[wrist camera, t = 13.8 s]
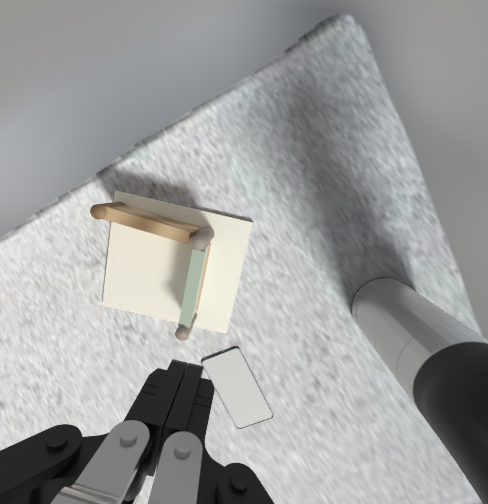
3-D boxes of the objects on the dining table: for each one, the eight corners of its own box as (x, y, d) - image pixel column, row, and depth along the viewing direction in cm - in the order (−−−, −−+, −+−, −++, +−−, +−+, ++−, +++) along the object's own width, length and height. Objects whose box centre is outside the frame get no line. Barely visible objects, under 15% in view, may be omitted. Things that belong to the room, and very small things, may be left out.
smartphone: (238, 345, 45) (274, 417, 48) (238, 343, 45) (274, 414, 48) (199, 360, 46) (237, 429, 49) (200, 358, 46) (237, 427, 49)
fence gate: (199, 225, 40) (190, 232, 34) (196, 237, 40) (187, 246, 34) (115, 199, 39) (91, 202, 34) (112, 212, 40) (89, 217, 34)
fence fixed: (216, 227, 41) (208, 236, 34) (197, 319, 44) (186, 344, 37) (202, 224, 41) (192, 232, 34) (185, 316, 44) (172, 341, 37)
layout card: (252, 222, 40) (252, 222, 40) (227, 331, 45) (226, 333, 44) (116, 190, 40) (114, 190, 39) (104, 303, 44) (101, 305, 44)
